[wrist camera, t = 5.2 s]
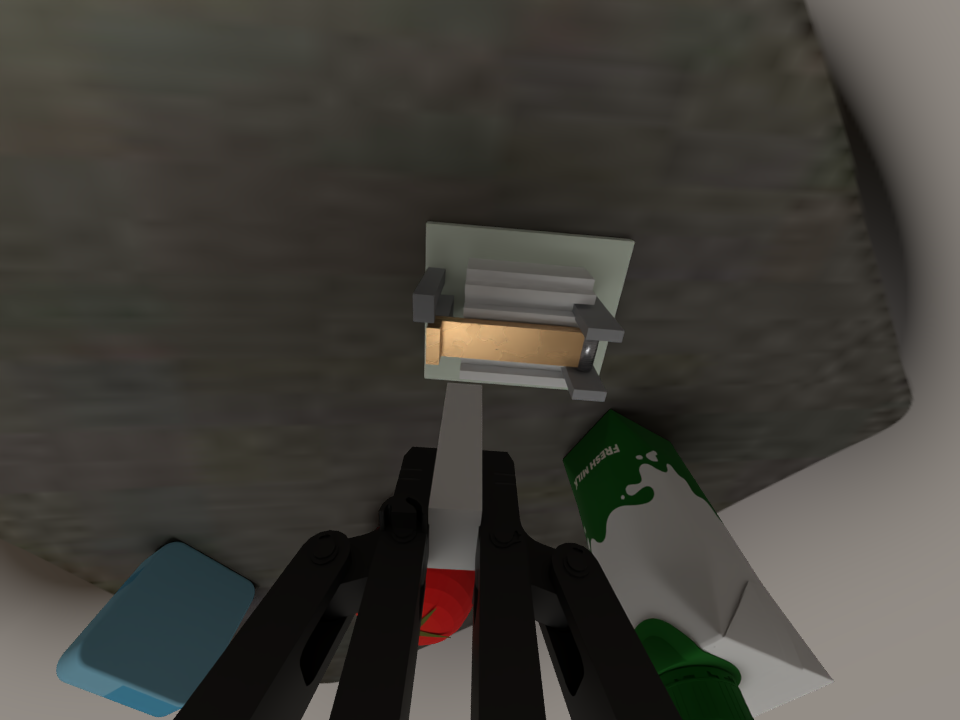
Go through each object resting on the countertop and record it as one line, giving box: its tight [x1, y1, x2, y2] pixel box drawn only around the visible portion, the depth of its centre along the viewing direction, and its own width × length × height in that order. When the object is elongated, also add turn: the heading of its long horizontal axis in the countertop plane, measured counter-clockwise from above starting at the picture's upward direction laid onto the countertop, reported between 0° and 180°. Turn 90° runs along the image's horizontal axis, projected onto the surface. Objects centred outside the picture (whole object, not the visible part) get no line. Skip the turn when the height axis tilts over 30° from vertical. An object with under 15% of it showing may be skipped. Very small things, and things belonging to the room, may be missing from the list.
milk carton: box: [563, 409, 834, 720], centre depth 26 cm, size 9×9×20 cm
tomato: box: [356, 526, 475, 645], centre depth 36 cm, size 11×12×10 cm
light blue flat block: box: [56, 542, 255, 717], centre depth 40 cm, size 12×4×12 cm, turn 39°
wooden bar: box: [426, 316, 599, 372], centre depth 23 cm, size 11×3×2 cm, turn 85°
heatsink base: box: [413, 221, 635, 402], centre depth 25 cm, size 14×12×8 cm
